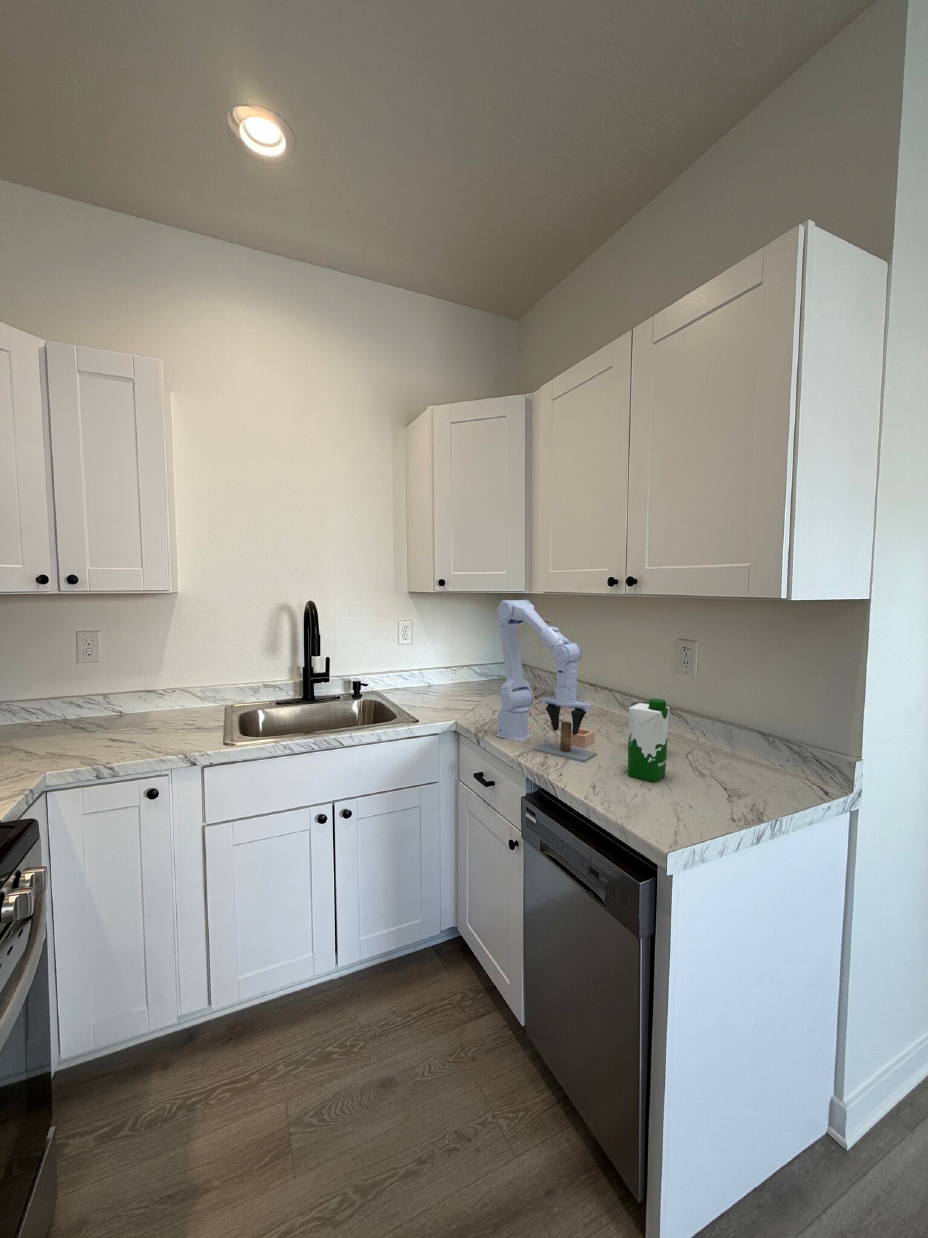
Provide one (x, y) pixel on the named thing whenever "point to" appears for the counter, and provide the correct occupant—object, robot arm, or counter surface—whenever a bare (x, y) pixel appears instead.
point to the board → (573, 754)
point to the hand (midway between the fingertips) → (565, 732)
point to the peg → (565, 736)
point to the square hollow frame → (583, 738)
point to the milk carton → (648, 740)
